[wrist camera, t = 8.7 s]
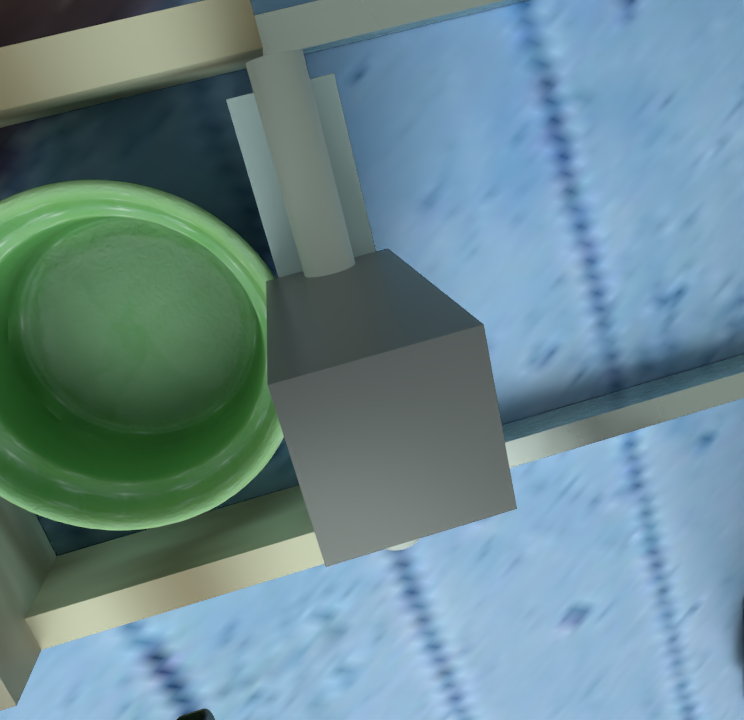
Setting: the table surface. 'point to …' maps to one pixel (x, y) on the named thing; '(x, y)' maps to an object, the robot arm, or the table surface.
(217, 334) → the ramekin
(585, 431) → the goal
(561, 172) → the table surface
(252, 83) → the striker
